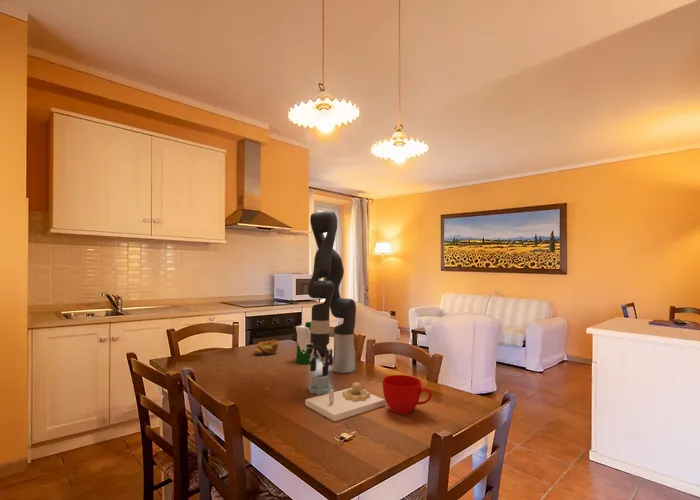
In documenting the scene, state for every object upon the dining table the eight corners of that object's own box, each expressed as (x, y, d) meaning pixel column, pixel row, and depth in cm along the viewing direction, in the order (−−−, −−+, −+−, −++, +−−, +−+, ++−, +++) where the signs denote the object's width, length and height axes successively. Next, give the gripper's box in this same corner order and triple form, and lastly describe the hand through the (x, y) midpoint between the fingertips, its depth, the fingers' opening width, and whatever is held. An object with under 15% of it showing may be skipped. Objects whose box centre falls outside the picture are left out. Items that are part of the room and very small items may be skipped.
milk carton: (306, 365, 181) (307, 324, 181) (292, 362, 186) (293, 322, 187) (318, 361, 188) (318, 322, 189) (304, 359, 193) (305, 320, 194)
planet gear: (323, 384, 152) (323, 371, 152) (338, 391, 145) (338, 376, 145) (302, 389, 146) (303, 375, 146) (317, 396, 138) (317, 381, 139)
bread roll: (256, 357, 196) (257, 342, 196) (250, 353, 204) (251, 338, 204) (279, 354, 203) (280, 339, 203) (273, 350, 211) (273, 336, 211)
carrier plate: (353, 392, 144) (354, 374, 144) (384, 405, 130) (385, 385, 131) (305, 405, 130) (305, 385, 130) (334, 421, 117) (334, 399, 117)
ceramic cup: (424, 424, 115) (424, 391, 116) (375, 412, 124) (375, 382, 125) (437, 411, 126) (438, 381, 127) (392, 400, 135) (392, 372, 136)
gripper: (338, 333, 143) (337, 376, 142) (318, 328, 154) (317, 368, 153) (322, 335, 138) (321, 379, 138) (302, 329, 150) (301, 370, 149)
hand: (318, 373), depth 145 cm, fingers open, 8 cm apart
